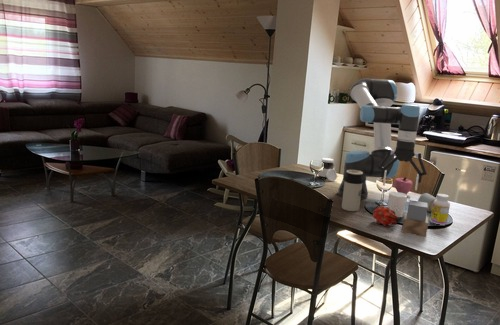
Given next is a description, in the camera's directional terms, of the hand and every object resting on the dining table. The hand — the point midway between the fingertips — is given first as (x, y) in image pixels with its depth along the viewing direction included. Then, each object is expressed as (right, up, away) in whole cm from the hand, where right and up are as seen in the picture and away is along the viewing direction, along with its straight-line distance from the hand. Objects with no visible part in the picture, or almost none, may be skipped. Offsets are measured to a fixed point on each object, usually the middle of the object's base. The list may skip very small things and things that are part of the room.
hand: (399, 187), depth 187 cm
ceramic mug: (+20, -12, +14) cm, 27 cm away
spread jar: (-21, +1, +62) cm, 65 cm away
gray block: (+1, -11, -16) cm, 20 cm away
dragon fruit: (-10, -15, -10) cm, 21 cm away
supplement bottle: (+16, -16, -4) cm, 22 cm away
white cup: (-1, -13, +3) cm, 14 cm away
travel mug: (-20, -11, +8) cm, 24 cm away
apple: (+15, -6, +38) cm, 42 cm away
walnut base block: (+1, -17, -15) cm, 23 cm away
